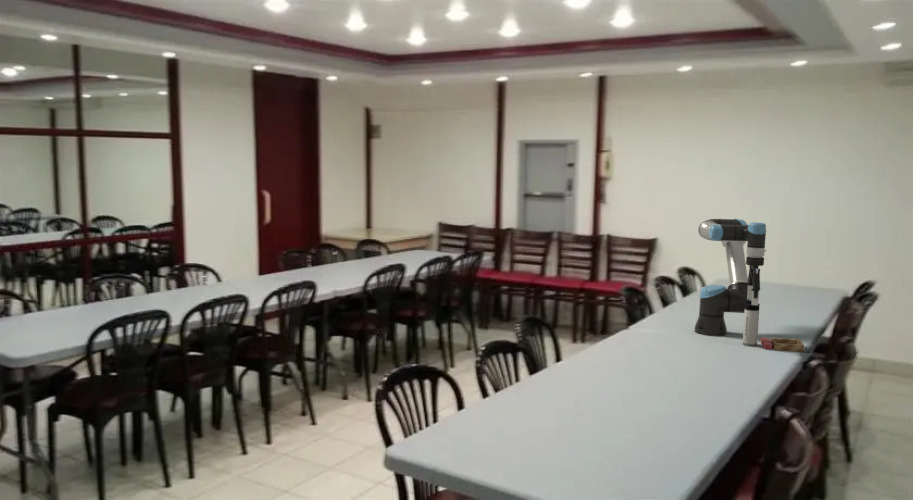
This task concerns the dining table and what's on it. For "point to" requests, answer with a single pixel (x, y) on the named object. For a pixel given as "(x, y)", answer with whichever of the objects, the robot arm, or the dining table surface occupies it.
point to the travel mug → (751, 324)
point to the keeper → (787, 345)
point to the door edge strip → (766, 343)
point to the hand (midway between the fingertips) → (752, 302)
